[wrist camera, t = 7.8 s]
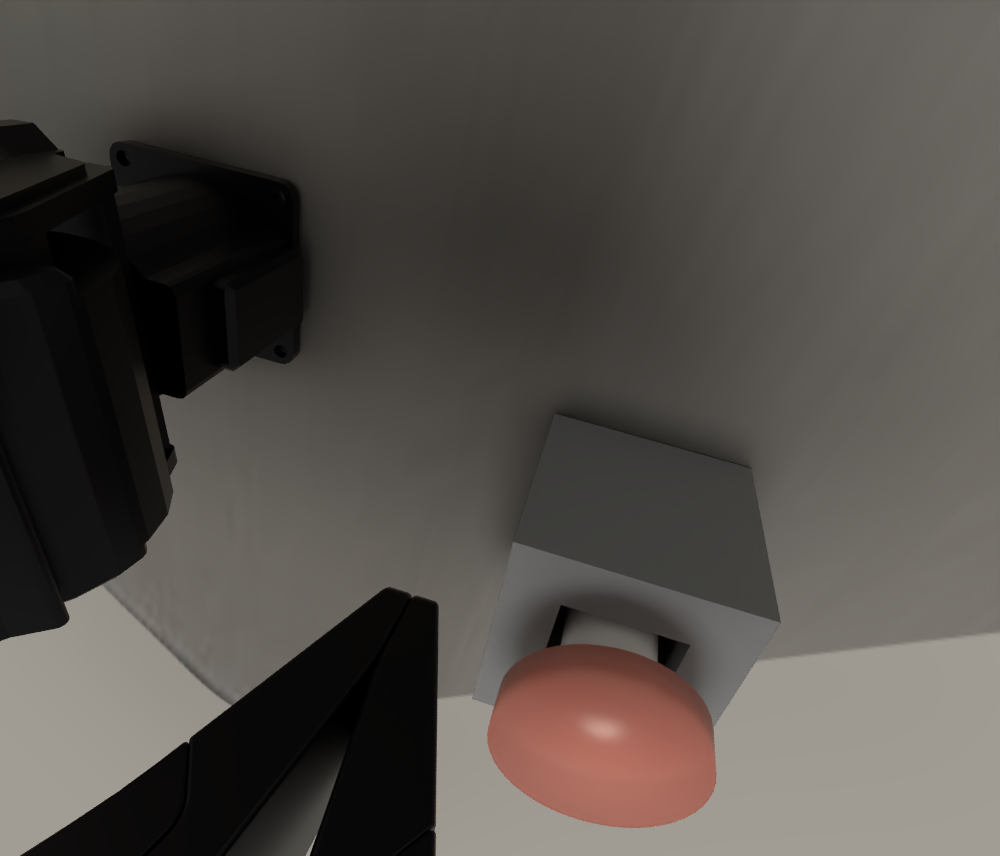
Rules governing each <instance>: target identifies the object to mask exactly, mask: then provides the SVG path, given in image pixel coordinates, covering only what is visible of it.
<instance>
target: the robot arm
mask: <svg viewBox="0 0 1000 856" xmlns="http://www.w3.org/2000/svg"><path fill="white" fill-rule="evenodd" d="M125 152H126V153H127V154H128V155H129V157H130V160H131V161H130V163H129V162H128V160H127V159H126V156H125ZM110 160H111V166H112V167H109V166H104V165H97V164H91V163H85V162H82V161H78V160H75V159H71V158H67V157H65V154H64V151H63V150H59V149H58V148H57V147H56V146H55V145H54V144H53V143H52V142H51V141H50V140H49V139H48V138H47V137H46V136H45V135H44V134H43V133H42V131H41V130H40V129H39V128H38V127H37V126H36V125H35V124H34V123H31V122H24V121H18V120H1V121H0V641H1V640H4V639H7V638H10V637H15V636H20V635H25V634H30V633H35V632H41V631H46V630H50V629H55V628H60V627H62V626H63V625H65V624H66V623H67V622H68V621H69V614H68V612H67V609H66V607H65V604H64V602H66V601H69V600H72V599H75V598H77V597H79V596H81V595H83V594H84V593H87V592H88V591H90V590H92V589H94V588H96V587H98V586H100V585H102V584H104V583H106V582H108V581H110V580H112V579H114V578H116V577H117V576H119V575H120V574H121V573H123V572H124V571H125V570H127V569H128V568H129V567H131V566H132V565H133V564H135V563H136V562H137V561H139V560H140V559H142V558H143V557H144V555H145V554H146V552H147V547H146V542H147V541H148V540H149V539H150V538H151V536H152V535H153V534H154V532H155V531H156V530H157V528H158V527H159V526H160V524H161V523H162V522H163V520H164V519H165V518H166V516H167V515H168V512H169V508H170V503H171V499H172V495H173V488H172V484H171V479H170V475H171V473H172V471H173V469H174V467H175V465H176V463H177V458H176V453H175V449H174V446H173V445H171V444H170V443H169V438H168V434H167V429H166V425H165V420H164V416H163V411H162V407H161V402H160V398H159V396H160V395H162V394H165V395H168V396H172V397H175V398H182V399H183V398H184V397H185V396H187V395H188V394H190V393H191V392H192V391H194V390H195V389H197V388H198V387H200V386H201V385H202V384H204V383H205V382H207V381H208V380H210V379H211V378H212V377H214V376H215V375H217V374H218V373H219V372H221V371H222V370H224V369H228V370H231V371H234V370H236V369H237V368H239V367H240V366H242V365H243V364H244V363H246V362H247V361H249V360H250V359H251V358H253V357H254V356H256V357H260V358H263V359H267V360H270V361H274V362H277V363H282V364H286V363H289V362H291V361H292V360H293V359H294V358H295V357H296V356H297V355H298V351H299V324H300V323H301V322H302V319H303V255H302V254H301V252H300V250H299V196H298V192H297V190H296V188H295V187H294V186H293V185H292V184H291V183H290V182H289V181H286V180H284V179H280V178H276V177H272V176H268V175H264V174H260V173H256V172H252V171H248V170H244V169H240V168H236V167H232V166H229V165H225V164H221V163H217V162H213V161H209V160H205V159H201V158H197V157H193V156H189V155H185V154H181V153H177V152H173V151H169V150H165V149H161V148H157V147H153V146H149V145H145V144H141V143H137V142H133V141H119V142H115V143H114V144H112V146H111V148H110ZM278 190H280V191H281V192H282V193H283V194H284V195H285V199H286V201H285V204H284V203H282V202H281V201H280V200H279V198H278V195H277V193H278ZM280 345H281V346H283V347H284V348H285V349H286V351H287V353H285V352H283V351H282V350H281V348H280ZM438 613H439V609H438V604H437V602H435V601H432V600H429V599H426V598H423V597H420V596H414V597H413V598H412V596H411V595H410V594H409V593H407V592H404V591H401V590H398V589H395V588H391V587H388V588H385V589H383V590H382V591H380V592H379V593H378V594H376V595H375V596H374V597H373V598H371V599H370V600H369V601H367V602H366V603H365V604H363V605H362V606H361V607H360V608H358V609H357V610H356V611H354V612H353V613H352V614H350V615H349V616H348V617H347V618H345V619H344V620H343V621H341V622H340V623H339V624H337V625H336V626H335V627H334V628H332V629H331V630H330V631H328V632H327V633H326V634H324V635H323V636H322V637H321V638H319V639H318V640H317V641H315V642H314V643H313V644H311V645H310V646H309V647H308V648H306V649H305V650H304V651H302V652H301V653H300V654H298V655H297V656H296V657H295V658H293V659H292V660H291V661H289V662H288V663H287V664H286V665H284V666H283V667H282V668H280V669H279V670H278V671H276V672H275V673H274V674H273V675H271V676H270V677H269V678H267V679H266V680H265V681H263V682H262V683H261V684H260V685H258V686H257V687H256V688H254V689H253V690H252V691H250V692H249V693H248V694H247V695H245V696H244V697H243V698H241V699H240V700H239V701H237V702H236V703H235V704H234V705H232V706H231V707H230V708H228V709H227V710H226V711H224V712H223V713H222V714H221V715H219V716H218V717H217V718H215V719H214V720H213V721H211V722H210V723H209V724H208V725H206V726H205V727H204V728H203V729H201V730H200V731H199V732H197V733H196V734H195V735H193V736H192V737H191V738H190V740H189V743H187V742H184V743H183V744H181V745H180V746H179V747H177V748H176V749H175V750H173V751H172V752H171V753H170V754H168V755H167V756H166V757H164V758H163V759H162V760H161V761H159V762H158V763H157V764H155V765H154V766H152V767H151V768H150V769H148V770H147V771H146V772H144V773H143V774H142V775H140V776H139V777H137V778H136V779H135V780H133V781H132V782H131V783H129V784H128V785H127V786H125V787H124V788H123V789H121V790H120V791H119V792H117V793H115V794H114V795H113V796H111V797H109V798H108V799H106V800H105V801H104V802H102V803H100V804H99V805H97V806H96V807H94V808H93V809H92V810H90V811H88V812H87V813H85V814H84V815H83V816H81V817H79V818H78V819H77V820H75V821H73V822H72V823H70V824H69V825H67V826H66V827H64V828H63V829H61V830H59V831H58V832H57V833H55V834H54V835H52V836H50V837H49V838H47V839H46V840H44V841H42V842H41V843H39V844H38V845H36V846H35V847H33V848H31V849H30V850H28V851H27V852H25V853H24V854H22V855H20V856H305V855H306V853H307V852H308V849H309V848H310V846H311V844H312V842H313V840H314V838H315V836H316V834H317V836H316V839H315V842H314V845H313V848H312V851H311V853H310V856H435V854H436V852H435V851H436V850H435V849H436V834H435V832H434V830H435V826H436V764H437V763H436V762H437V760H436V759H437V688H438Z"/></svg>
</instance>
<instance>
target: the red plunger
mask: <svg viewBox="0 0 1000 856" xmlns="http://www.w3.org/2000/svg"><path fill="white" fill-rule="evenodd" d="M487 736H488V746H489V750H490V753H491V755H492V758H493V760H494V762H495V763H496V765H497V766H498V768H499V769H500V771H501V772H502V773H503V774H504V776H505V777H506V778H507V779H508V780H509V781H510V782H511V783H512V784H514V786H516V787H517V788H518V789H520V790H521V791H522V792H523V793H525V794H526V795H527V796H529V797H531V798H532V799H533V800H535V801H537V802H539V803H541V804H542V805H544V806H546V807H548V808H550V809H552V810H554V811H557V812H559V813H562V814H564V815H567V816H569V817H573V818H576V819H579V820H583V821H586V822H590V823H595V824H600V825H606V826H614V827H627V828H628V827H629V828H641V827H653V826H659V825H665V824H669V823H672V822H676V821H678V820H681V819H684V818H686V817H688V816H689V815H691V814H693V813H695V812H696V811H697V810H699V809H700V808H701V807H702V806H703V805H704V804H705V803H706V802H707V801H708V800H709V798H710V797H711V795H712V793H713V791H714V787H715V784H716V762H715V745H714V729H713V722H712V717H711V715H710V712H709V709H708V707H707V706H706V704H705V702H704V701H703V699H702V698H701V696H700V695H699V694H698V693H697V691H696V690H695V689H694V688H693V687H692V686H691V685H690V684H689V683H688V682H687V681H685V680H684V679H683V678H682V677H680V676H679V675H678V674H676V673H675V672H674V671H672V670H670V669H668V668H667V667H665V666H663V665H662V664H660V663H658V635H657V634H653V633H650V632H647V631H644V630H640V629H637V628H634V627H631V626H628V625H624V624H621V623H618V622H615V621H612V620H608V619H605V618H602V617H599V616H595V615H592V614H589V613H586V612H583V611H579V610H576V609H573V608H570V607H568V609H567V614H566V619H565V625H564V630H563V635H562V640H561V645H559V646H554V647H549V648H545V649H542V650H539V651H536V652H533V653H531V654H529V655H527V656H525V657H523V658H522V659H520V660H519V661H518V662H516V663H515V664H514V665H513V666H512V667H511V668H510V669H509V670H508V671H507V673H506V674H505V676H504V677H503V679H502V682H501V684H500V687H499V690H498V694H497V698H496V701H495V705H494V709H493V713H492V716H491V720H490V724H489V728H488V735H487Z"/></svg>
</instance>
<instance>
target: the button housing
mask: <svg viewBox="0 0 1000 856" xmlns="http://www.w3.org/2000/svg"><path fill="white" fill-rule="evenodd" d="M568 607H570V608H573V609H576V610H579V611H583V612H586V613H589V614H592V615H595V616H599V617H602V618H605V619H608V620H612V621H615V622H618V623H621V624H624V625H628V626H631V627H634V628H637V629H640V630H644V631H647V632H650V633H653V634H657V635H658V663H660V664H662V665H663V666H665V667H667V668H668V669H670V670H672V671H674V672H675V673H676V674H678V675H679V676H680V677H682V678H683V679H684V680H685V681H687V682H688V683H689V684H690V685H691V686H692V687H693V688H694V689H695V690H696V691H697V693H698V694H699V695H700V696H701V698H702V699H703V701H704V702H705V704H706V706H707V707H708V709H709V712H710V715H711V717H712V722H713V727H714V726H715V724H716V723H717V721H718V720H719V718H720V717H721V715H722V713H723V712H724V710H725V709H726V707H727V706H728V704H729V703H730V701H731V699H732V698H733V696H734V695H735V693H736V692H737V690H738V689H739V687H740V685H741V684H742V682H743V681H744V679H745V678H746V676H747V675H748V673H749V671H750V670H751V668H752V667H753V665H754V664H755V662H756V661H757V659H758V658H759V656H760V654H761V653H762V651H763V650H764V648H765V647H766V645H767V644H768V642H769V640H770V639H771V637H772V636H773V634H774V633H775V631H776V630H777V628H778V626H779V625H780V623H781V622H780V616H779V611H778V606H777V601H776V595H775V590H774V585H773V580H772V575H771V569H770V564H769V559H768V554H767V548H766V543H765V538H764V533H763V528H762V522H761V517H760V512H759V507H758V502H757V496H756V491H755V486H754V481H753V475H752V470H751V468H748V467H745V466H741V465H738V464H734V463H730V462H727V461H723V460H720V459H716V458H713V457H709V456H705V455H702V454H698V453H695V452H691V451H687V450H684V449H680V448H677V447H673V446H670V445H666V444H662V443H659V442H655V441H652V440H648V439H645V438H641V437H637V436H634V435H630V434H627V433H623V432H620V431H616V430H612V429H609V428H605V427H602V426H598V425H594V424H591V423H587V422H584V421H580V420H577V419H573V418H569V417H566V416H562V415H559V414H554V417H553V421H552V424H551V427H550V430H549V433H548V436H547V439H546V442H545V445H544V448H543V451H542V454H541V457H540V460H539V464H538V467H537V470H536V473H535V476H534V479H533V482H532V485H531V488H530V491H529V494H528V497H527V500H526V503H525V507H524V510H523V513H522V516H521V519H520V522H519V525H518V528H517V531H516V534H515V537H514V540H513V544H512V548H511V551H510V555H509V559H508V563H507V567H506V571H505V574H504V578H503V582H502V586H501V590H500V594H499V597H498V601H497V605H496V609H495V613H494V617H493V621H492V624H491V628H490V632H489V636H488V640H487V644H486V647H485V651H484V655H483V659H482V663H481V667H480V670H479V674H478V678H477V682H476V686H475V690H474V693H473V697H472V699H474V700H478V701H481V702H483V703H487V704H490V705H493V706H494V705H495V701H496V698H497V694H498V690H499V687H500V684H501V682H502V679H503V677H504V676H505V674H506V673H507V671H508V670H509V669H510V668H511V667H512V666H513V665H514V664H515V663H516V662H518V661H519V660H520V659H522V658H523V657H525V656H527V655H529V654H531V653H533V652H536V651H539V650H542V649H545V648H549V647H554V646H559V645H561V640H562V635H563V630H564V625H565V619H566V614H567V609H568Z"/></svg>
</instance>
